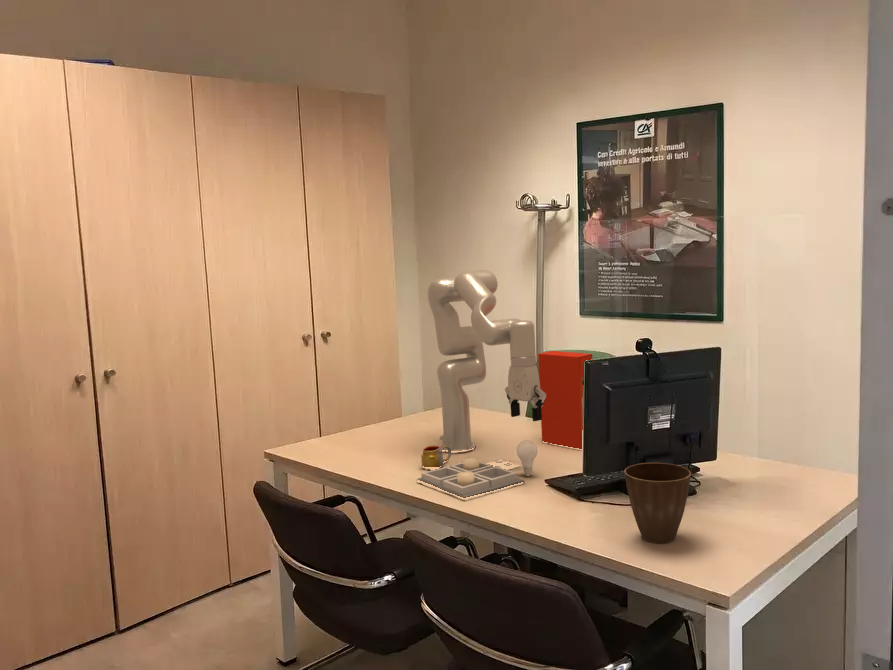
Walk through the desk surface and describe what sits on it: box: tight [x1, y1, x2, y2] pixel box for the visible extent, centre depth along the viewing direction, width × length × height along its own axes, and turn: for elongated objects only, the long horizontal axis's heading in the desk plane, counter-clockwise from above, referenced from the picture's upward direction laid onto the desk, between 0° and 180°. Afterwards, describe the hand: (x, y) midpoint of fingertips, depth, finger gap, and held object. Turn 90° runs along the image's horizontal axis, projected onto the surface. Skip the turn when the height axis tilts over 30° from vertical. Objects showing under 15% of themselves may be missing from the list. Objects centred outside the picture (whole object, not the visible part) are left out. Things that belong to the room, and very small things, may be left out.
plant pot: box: [623, 462, 692, 544], centre depth 180 cm, size 15×15×16 cm
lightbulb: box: [515, 439, 538, 476], centre depth 234 cm, size 6×6×11 cm
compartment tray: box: [417, 456, 525, 498], centre depth 230 cm, size 24×22×5 cm
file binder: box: [537, 350, 593, 449], centre depth 266 cm, size 8×17×32 cm, turn 43°
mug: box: [420, 445, 452, 467], centre depth 250 cm, size 12×7×7 cm, turn 131°
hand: (526, 418), depth 232 cm, fingers open, 9 cm apart
